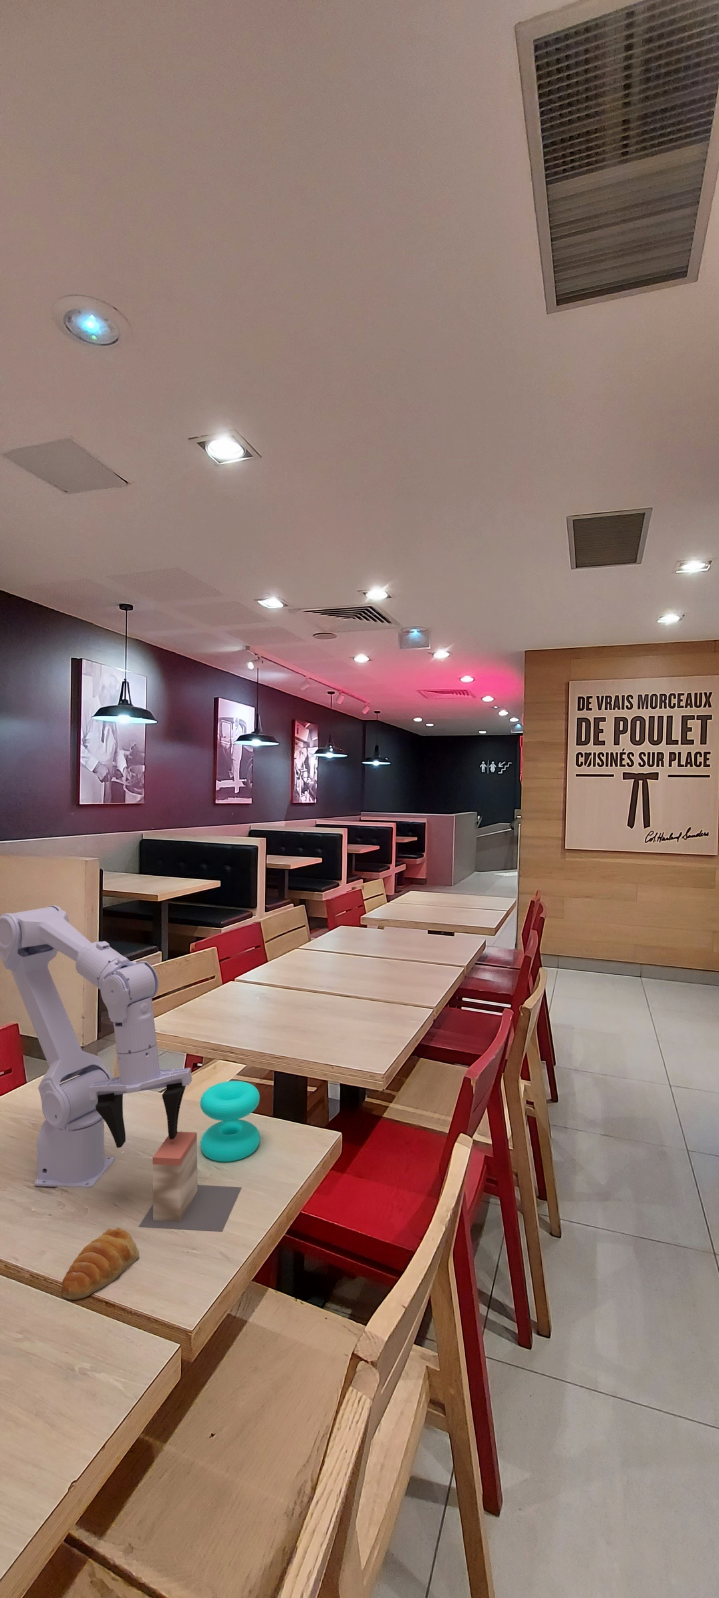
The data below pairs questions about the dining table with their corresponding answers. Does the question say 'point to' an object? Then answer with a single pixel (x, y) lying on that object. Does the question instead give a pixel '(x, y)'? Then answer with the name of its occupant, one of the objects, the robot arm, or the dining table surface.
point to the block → (174, 1176)
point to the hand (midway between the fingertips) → (147, 1140)
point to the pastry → (100, 1263)
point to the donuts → (230, 1121)
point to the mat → (201, 1210)
